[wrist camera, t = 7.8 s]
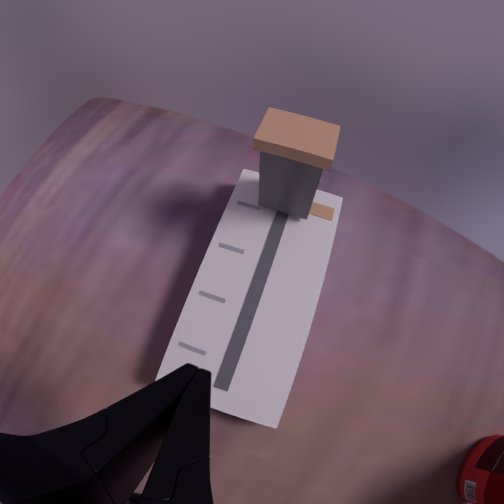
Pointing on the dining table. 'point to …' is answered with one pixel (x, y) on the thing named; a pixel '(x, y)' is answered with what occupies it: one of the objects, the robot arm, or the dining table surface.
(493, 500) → the canned food
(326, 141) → the slider handle
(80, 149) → the dining table surface
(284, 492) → the dining table surface
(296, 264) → the dimmer panel
